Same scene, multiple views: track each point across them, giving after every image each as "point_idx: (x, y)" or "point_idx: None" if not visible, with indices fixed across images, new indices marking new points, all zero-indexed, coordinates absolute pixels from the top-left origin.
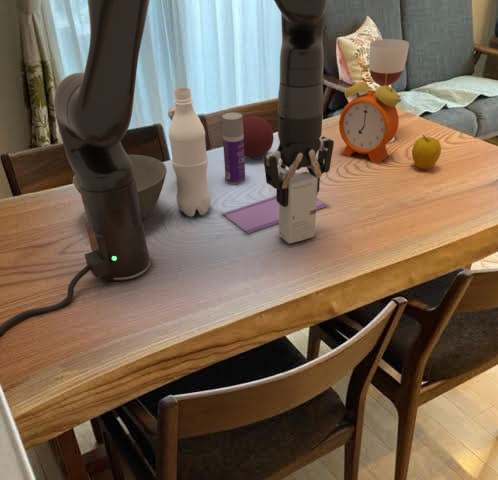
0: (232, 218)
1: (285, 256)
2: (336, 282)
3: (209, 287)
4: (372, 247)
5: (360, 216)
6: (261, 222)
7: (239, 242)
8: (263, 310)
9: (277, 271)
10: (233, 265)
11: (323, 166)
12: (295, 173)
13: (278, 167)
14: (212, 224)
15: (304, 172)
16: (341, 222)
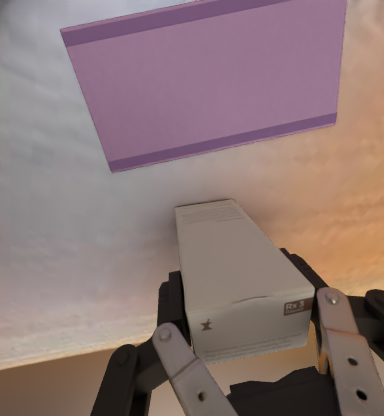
0: (86, 80)
1: (160, 265)
2: None
3: (13, 302)
4: None
5: (354, 193)
6: (157, 138)
7: (87, 196)
8: (90, 352)
9: (133, 294)
10: (62, 262)
11: (375, 345)
12: (264, 300)
13: (176, 390)
14: (23, 80)
15: (300, 302)
16: (310, 200)
